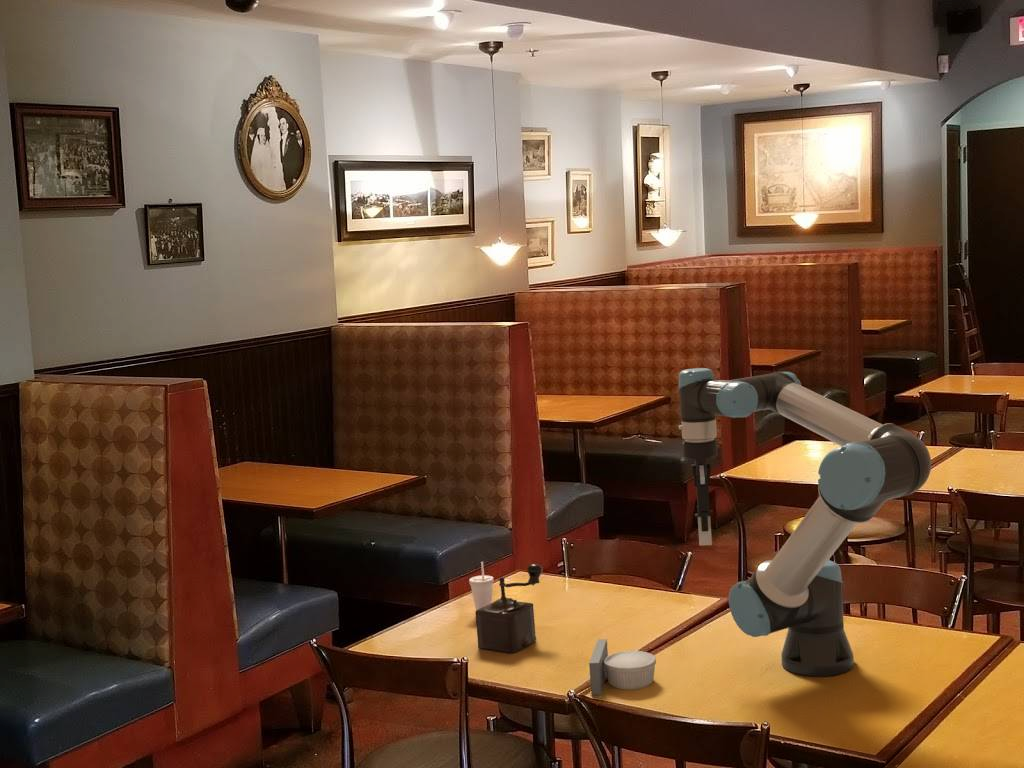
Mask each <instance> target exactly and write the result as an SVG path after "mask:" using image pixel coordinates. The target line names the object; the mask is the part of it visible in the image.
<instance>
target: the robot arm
mask: <svg viewBox="0 0 1024 768" xmlns="http://www.w3.org/2000/svg"><path fill="white" fill-rule="evenodd" d="M677 389H678V390H677V391H678V396H679V410H680V411H679V412H680V421H681V424H680V425H678V429H679V430H681V437H682V439H684V440H683V441H682V443H681V444H682V457H683V458H684V459H686V460H687V459H688V460H694V461H695V464H691V472H692V475H693V485H694V487H695V488H696V489H695V490H696V502H697V503H696V504H697V505H696V509H697V510H696V511H697V512H696V513H695V514H694V518H697V524H698V525H697V526H698V541H699V542H698V544H699V547H700V546H712V545H713V538H712V526H711V525H712V523H711V515H712V514H713V510H712V509H711V510H710V491H709V489H710V488H709V487H710V486H711V477H710V475H711V474H712V472H711V471H712V470H711V463H707V460H708V459H713V458H716V457H717V456H718V452H719V451H718V441H717V439H716V438H717V436H718V435H717V433H718V432H717V418H716V416H723V417H728V418H733V419H737V418H747V417H750V416H751V415H752V414H753V413H756V412H760V411H766V410H769V411H770V410H771V411H772V412H774V413H777V414H779V415H781V416H782V417H784V418H786V419H788V420H790V421H792V422H794V423H796V424H798V425H800V426H801V427H804V428H805V429H807V430H809V431H811V432H813V433H816V434H817V435H818V436H819V435H820V436H821V437H823V438H825V439H827V440H828V441H831V442H832V443H835V444H837V446H838V447H836V448H834V449H832V450H831V451H829V452H828V453H827V454H826V455H825V456H824V457H823V459H822V461H821V463H820V464H819V467H818V471H817V472H818V475H819V478H817V484H818V487H817V489H818V490H817V491H818V495H819V496H818V497H817V499H816V500H815V501H814V503H813V504H812V506H811V507H810V508H809V510H808V511H807V513H806V514H805V516H804V517H803V518H802V520H801V521H800V522H799V523H798V524H797V526H796V527H795V529H794V530H793V531H792V533H791V535H789V538H788V539H786V542H785V543H784V544H783V545H782V547H781V548H780V550H779V551H778V552H777V553H776V555H775V556H774V558H773V559H769V560H765V561H763V562H762V563H760V565H759V566H758V567H757V568H756V569H755V570H754V572H753V574H751V577H750V578H748V579H747V580H741V581H738V582H737V583H735V584H734V585H732V587H731V588H730V590H729V593H728V605H729V611H730V614H731V616H732V619H733V621H734V623H735V624H736V626H737V627H738V628H739V629H740V630H741V632H742V633H743V634H745V635H747V636H750V637H752V638H758V637H767V636H769V635H770V634H773V633H777V632H780V631H782V630H785V629H787V633H786V636H785V640H784V644H783V647H782V650H781V654H780V655H781V666H782V667H783V669H785V670H787V671H788V672H791V673H792V674H796V675H802V676H809V677H810V676H811V677H828V676H829V677H830V676H836V675H841V674H844V673H847V672H850V671H851V670H852V669H853V668H854V665H855V659H854V658H855V657H854V652H853V649H852V646H851V644H850V641H849V639H848V636H847V633H846V632H845V627H844V623H845V622H844V598H843V595H844V594H843V584H844V581H843V579H842V571H841V570H842V569H841V567H840V565H839V564H838V563H837V562H835V561H832V560H830V559H831V557H832V556H833V555H834V553H835V552H836V551H837V550H838V548H839V547H840V546H841V545H842V544H843V542H844V541H845V540H846V538H847V537H848V535H849V534H850V533H851V532H852V531H853V529H855V527H856V526H857V524H864V523H867V522H869V521H871V519H873V518H874V516H875V515H876V513H878V511H879V510H880V509H881V507H882V506H883V505H884V504H885V503H886V502H888V501H889V500H894V499H898V498H901V497H906V496H908V495H913V493H915V492H917V491H918V490H920V489H921V488H922V487H923V486H924V485H925V484H926V482H927V480H928V479H929V476H930V473H931V470H932V459H931V455H930V451H929V449H928V448H927V446H926V443H924V442H923V441H922V440H921V439H920V438H919V437H918V436H917V435H915V434H914V433H912V432H911V431H909V430H907V429H905V428H903V427H900V426H898V425H897V424H894V423H890V422H889V423H888V422H887V423H884V424H883V423H880V422H878V421H876V420H874V419H871V418H869V417H867V416H866V415H864V414H861V413H859V412H857V411H855V410H853V409H851V408H849V407H846V406H844V405H843V404H841V403H839V402H836V401H834V400H833V399H830V398H827V397H826V396H824V395H821V394H820V393H817V392H815V391H813V390H811V389H809V388H807V387H805V386H803V385H802V382H801V381H800V379H798V377H797V375H796V374H795V373H794V372H791V371H774V372H771V373H766V374H760V375H754V376H749V377H747V376H746V377H741V378H735V379H734V378H733V379H729V380H728V379H726V380H725V379H724V380H723V379H715V377H714V372H713V370H712V369H710V368H709V367H708V368H705V367H696V368H687V369H682V370H681V371H680V372H679V374H678V388H677Z"/></svg>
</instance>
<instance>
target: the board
mask: <svg viewBox="0 0 1024 768" xmlns="http://www.w3.org/2000/svg"><path fill="white" fill-rule="evenodd" d="M607 656H609V653H608V639H606V638H598V639H597V641H596V643H595V647H594V649H593V652H592V654H591V657H590V660H589V662H588V665H589V679H590V680H589V681H590V692H591V693H590V694H591V696H602V693H603V689H604V686H605V684H604V683H606V681H605V680H606V679H607V678H608V677H607V673H606V669H605V666H604V662H603V661H604V659H605V658H606V657H607Z"/></svg>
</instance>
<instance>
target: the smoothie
mask: <svg viewBox="0 0 1024 768" xmlns="http://www.w3.org/2000/svg"><path fill="white" fill-rule="evenodd" d="M480 565H481V567H480V569H481V575H476V576H472V577H471V578H469V582H468V583H469V585H470V588H471V592H472V598H473V602H474V607H475V611H476V610H478V609H480V608H482V607H485V606H487V605H489V604H491V603H493V585H494V584H493V583H494V582H495V580H494V576H491V575H488V574H487V575H486V574H485V569H484V561H481V562H480Z"/></svg>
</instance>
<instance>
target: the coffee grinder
mask: <svg viewBox="0 0 1024 768" xmlns="http://www.w3.org/2000/svg"><path fill="white" fill-rule="evenodd" d="M526 572H527V573H528V577H529V579H528V581H527V582H511V583H505V578H504V577H499V578H498V581H499V583H498V586H499V587H500V592H501V595H500V596H501V597H500V598H499V599H496V600H495V601H492V603H491V604H489V605H487V606H485V607H482V608H480V609H478V610H476V609H475V621H476V623H475V624H476V634H477V648H478V649H480V650H484V651H492V652H497V653H503V654H510V655H511V654H512V655H514V654H515V653H517V652H519V651H521V650H523V649H525V648H527V647H529V646H530V645H531V644H533V643H535V641H537V637H536V624H535V613H534V612H535V611H534V602H533V603H532V602H525V601H517V599H513V598H512V597H506V591H505V590H506V589H505V588H512V587H527V586H531V585H532V586H534V585H536V584H540V583H541V582H540V576H541V575H542V573H543V572H544V570H543V567H542V566H541V565H540V564H538V563H531V564H529V565H528V566H527V568H526Z"/></svg>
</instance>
